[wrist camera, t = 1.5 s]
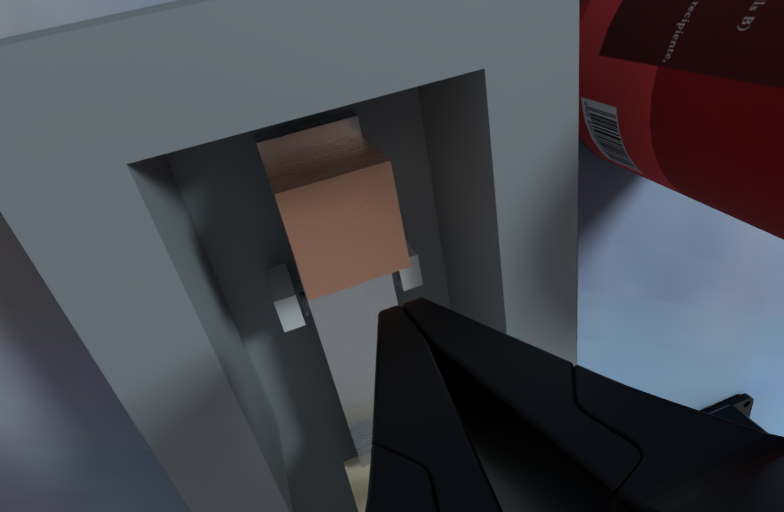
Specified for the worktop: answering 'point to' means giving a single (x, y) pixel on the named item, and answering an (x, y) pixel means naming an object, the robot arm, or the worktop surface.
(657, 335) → the worktop surface
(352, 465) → the beige block
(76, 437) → the worktop surface
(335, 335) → the ejector lever
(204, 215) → the pocket board
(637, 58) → the canned food
